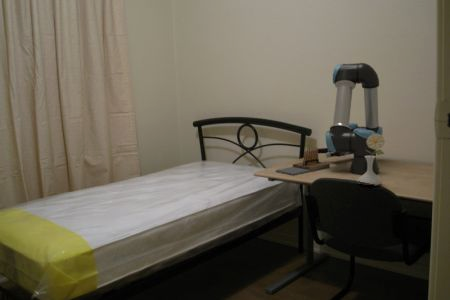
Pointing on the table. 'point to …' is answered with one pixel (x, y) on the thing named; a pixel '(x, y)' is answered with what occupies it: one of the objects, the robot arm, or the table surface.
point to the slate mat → (292, 171)
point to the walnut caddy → (312, 166)
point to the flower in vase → (375, 143)
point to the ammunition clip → (310, 157)
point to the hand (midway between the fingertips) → (317, 154)
